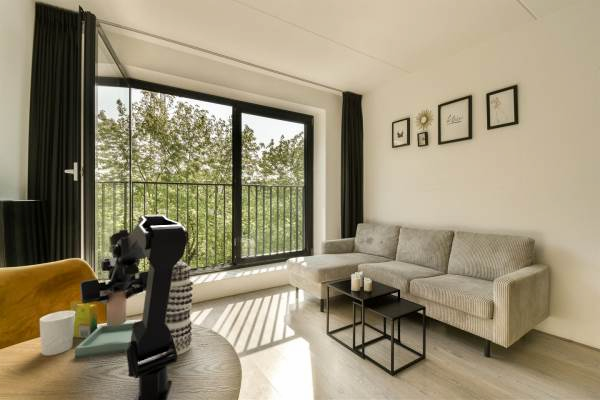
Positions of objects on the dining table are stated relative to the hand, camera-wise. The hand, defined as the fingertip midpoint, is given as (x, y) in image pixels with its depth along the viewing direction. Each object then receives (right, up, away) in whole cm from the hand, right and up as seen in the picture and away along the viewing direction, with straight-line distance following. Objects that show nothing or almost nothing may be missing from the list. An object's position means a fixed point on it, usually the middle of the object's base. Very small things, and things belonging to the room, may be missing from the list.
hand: (115, 300), depth 86 cm
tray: (+1, -12, -1) cm, 13 cm away
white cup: (-13, -13, -6) cm, 19 cm away
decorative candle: (+22, -12, -5) cm, 26 cm away
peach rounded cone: (+1, -7, -1) cm, 7 cm away
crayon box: (-12, -13, +3) cm, 18 cm away
